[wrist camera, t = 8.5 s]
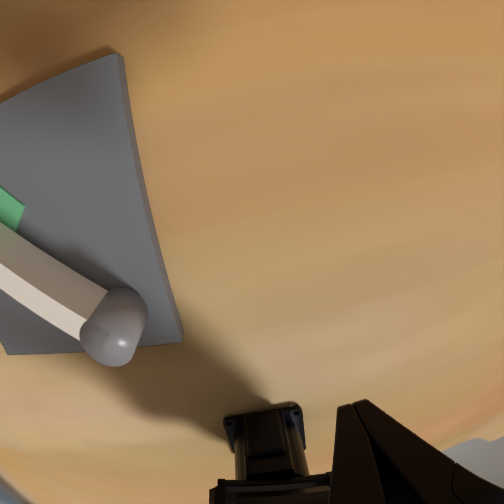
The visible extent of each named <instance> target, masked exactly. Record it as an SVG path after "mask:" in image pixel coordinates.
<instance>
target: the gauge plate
mask: <svg viewBox="0 0 504 504" xmlns="http://www.w3.org/2000/svg"><path fill="white" fill-rule="evenodd" d="M0 222H1V223H3V224H4V225H5V226H7V227H8V228H10V229H11V230H12V231H14V232H15V233H17V234H18V235H20V236H21V237H23V238H24V239H26V240H27V241H28V242H30V243H31V244H33V245H34V246H36V247H37V248H39V249H40V250H42V251H44V252H45V253H47V254H48V255H50V256H51V257H53V258H54V259H56V260H58V261H59V262H61V263H62V264H64V265H66V266H67V267H69V268H70V269H72V270H74V271H75V272H77V273H79V274H80V275H82V276H84V277H85V278H87V279H89V280H90V281H92V282H94V283H95V284H97V285H99V286H101V287H102V288H104V289H106V290H107V291H108V290H110V289H112V288H117V287H121V288H127V289H130V290H132V291H134V292H135V293H137V294H138V295H139V296H140V297H141V298H142V299H143V301H144V302H145V304H146V306H147V310H148V319H147V322H146V324H145V327H144V329H143V332H142V334H141V337H140V339H139V342H138V344H137V347H144V346H153V345H162V344H170V343H178V342H182V339H183V334H184V330H183V327H182V324H181V321H180V317H179V314H178V311H177V308H176V304H175V301H174V297H173V294H172V290H171V287H170V283H169V280H168V276H167V272H166V269H165V265H164V261H163V258H162V254H161V250H160V246H159V242H158V238H157V234H156V230H155V226H154V222H153V218H152V213H151V209H150V205H149V200H148V196H147V191H146V187H145V182H144V177H143V173H142V168H141V163H140V158H139V153H138V147H137V142H136V137H135V131H134V125H133V120H132V114H131V108H130V101H129V95H128V88H127V81H126V74H125V66H124V58H123V57H122V56H121V55H120V54H118V53H114V54H111V55H108V56H105V57H102V58H99V59H96V60H94V61H91V62H88V63H86V64H83V65H80V66H78V67H75V68H73V69H70V70H68V71H66V72H63V73H61V74H59V75H56V76H54V77H52V78H50V79H47V80H45V81H43V82H41V83H39V84H37V85H35V86H33V87H31V88H29V89H27V90H25V91H23V92H21V93H19V94H17V95H15V96H13V97H11V98H9V99H8V100H6V101H4V102H2V103H0ZM0 341H1V343H2V345H3V347H4V349H5V351H6V353H7V355H29V354H54V353H73V352H86V351H85V350H84V349H83V347H82V345H81V342H80V341H79V340H78V339H76V338H74V337H73V336H71V335H69V334H68V333H66V332H64V331H63V330H61V329H59V328H58V327H56V326H55V325H53V324H51V323H50V322H48V321H47V320H45V319H44V318H42V317H40V316H39V315H37V314H36V313H34V312H33V311H31V310H30V309H28V308H27V307H26V306H24V305H23V304H21V303H20V302H18V301H17V300H15V299H14V298H13V297H11V296H10V295H8V294H7V293H6V292H4V291H3V290H2V289H0Z"/></svg>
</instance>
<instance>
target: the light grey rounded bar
mask: <svg viewBox="0 0 504 504" xmlns="http://www.w3.org/2000/svg"><path fill="white" fill-rule="evenodd" d="M0 289H2V290H3V291H4V292H6V293H7V294H8V295H10V296H11V297H13V298H14V299H15V300H17V301H18V302H20V303H21V304H23V305H24V306H26V307H27V308H28V309H30V310H31V311H33V312H34V313H36V314H37V315H39V316H40V317H42V318H44V319H45V320H47V321H48V322H50V323H51V324H53V325H55V326H56V327H58V328H59V329H61V330H63V331H64V332H66V333H68V334H69V335H71V336H73V337H74V338H76V339H78V340H79V341H80V342H81V345H82V347H83V349H84V350H85V351H86V353H87V354H88V355H89V356H90V357H91V358H92V359H94V360H95V361H97V362H99V363H101V364H103V365H106V366H111V367H118V366H122V365H125V364H127V363H128V362H129V361H130V360H131V359H132V357H133V354H134V352H135V349H136V347H137V344H138V342H139V339H140V337H141V334H142V332H143V329H144V327H145V324H146V322H147V319H148V310H147V306H146V304H145V302H144V301H143V299H142V298H141V297H140V296H139V295H138V294H137V293H135V292H134V291H132V290H130V289H127V288H121V287H117V288H112V289H110V290H108V291H107V290H106V289H104V288H102V287H101V286H99V285H97V284H95V283H94V282H92V281H90V280H89V279H87V278H85V277H84V276H82V275H80V274H79V273H77V272H75V271H74V270H72V269H70V268H69V267H67V266H66V265H64V264H62V263H61V262H59V261H58V260H56V259H54V258H53V257H51V256H50V255H48V254H47V253H45V252H44V251H42V250H40V249H39V248H37V247H36V246H34V245H33V244H31V243H30V242H28V241H27V240H26V239H24V238H23V237H21V236H20V235H18V234H17V233H15V232H14V231H12V230H11V229H10V228H8V227H7V226H5V225H4V224H3V223H1V222H0Z"/></svg>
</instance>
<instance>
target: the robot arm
mask: <svg viewBox="0 0 504 504" xmlns="http://www.w3.org/2000/svg"><path fill="white" fill-rule="evenodd" d="M295 411H297V412H295ZM223 425H224V427H225V430H226V433H227V435H228V438H229V441H230V443H231V446H232V449H233V451H234V454H235V475H236V480H225V479H218V486H216V487H215V488H212V489H210V490H209V504H504V489H503V488H501V487H499V486H496V485H494V484H492V483H490V482H488V481H486V480H484V479H482V478H480V477H479V476H477V475H475V474H473V473H472V472H470V471H468V470H467V469H465V468H464V467H462V466H461V465H459V464H458V463H455V462H454V461H453V460H452V459H450V458H449V457H447V456H446V455H444V454H443V453H442V452H440V451H439V450H437V449H436V448H434V447H433V446H431V445H430V444H429V443H427V442H426V441H424V440H423V439H421V438H420V437H419V436H417V435H416V434H414V433H413V432H411V431H410V430H409V429H407V428H406V427H404V426H403V425H402V424H400V423H399V422H397V421H396V420H395V419H393V418H392V417H391V416H389V415H388V414H386V413H385V412H384V411H382V410H381V409H380V408H378V407H377V406H376V405H374V404H373V403H371V402H370V401H369V400H367V399H363V400H360V401H356V402H354V403H352V404H346V405H342V406H339V407H338V408H337V417H336V432H335V444H334V456H333V466H332V471H331V472H326V473H324V474H317V475H309V470H308V466H307V462H306V457H305V453H304V450H305V449H306V445H305V434H304V423H303V413H302V409H301V407H300V406H292V407H287V408H281V409H276V410H270V411H264V412H257V413H251V414H244V415H236V416H228V417H225V418H224V419H223Z"/></svg>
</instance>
